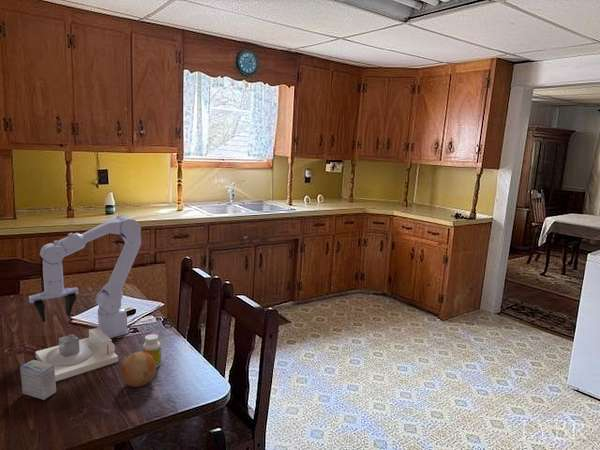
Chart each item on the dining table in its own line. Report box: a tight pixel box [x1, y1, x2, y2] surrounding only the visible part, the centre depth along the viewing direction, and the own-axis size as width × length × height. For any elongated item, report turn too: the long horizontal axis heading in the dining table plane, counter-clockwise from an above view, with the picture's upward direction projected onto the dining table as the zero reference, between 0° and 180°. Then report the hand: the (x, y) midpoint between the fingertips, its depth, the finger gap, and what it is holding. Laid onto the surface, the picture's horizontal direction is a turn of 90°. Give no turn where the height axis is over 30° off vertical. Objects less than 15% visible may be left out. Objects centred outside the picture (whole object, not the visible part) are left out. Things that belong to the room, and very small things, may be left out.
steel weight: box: [58, 333, 80, 357], centre depth 139 cm, size 4×4×5 cm
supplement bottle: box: [142, 333, 162, 368], centre depth 140 cm, size 5×5×10 cm
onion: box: [120, 350, 157, 388], centre depth 129 cm, size 10×10×10 cm
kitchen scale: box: [35, 327, 119, 382], centre depth 141 cm, size 19×19×6 cm
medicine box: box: [19, 359, 57, 401], centre depth 122 cm, size 8×4×9 cm, turn 71°
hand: (56, 318), depth 147 cm, fingers open, 7 cm apart
